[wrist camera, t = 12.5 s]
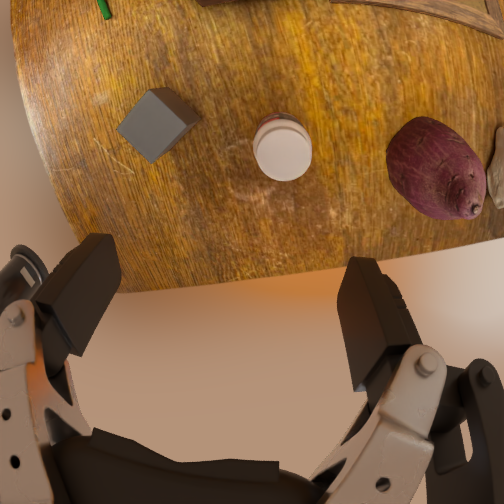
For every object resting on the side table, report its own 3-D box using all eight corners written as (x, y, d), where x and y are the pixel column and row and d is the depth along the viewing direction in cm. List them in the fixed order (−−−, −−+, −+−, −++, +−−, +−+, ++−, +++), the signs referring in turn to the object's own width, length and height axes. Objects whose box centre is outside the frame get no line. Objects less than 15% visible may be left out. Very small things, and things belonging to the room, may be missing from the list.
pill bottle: (271, 102, 24) (272, 110, 17) (312, 127, 25) (329, 146, 18) (247, 141, 26) (238, 165, 19) (287, 164, 27) (293, 196, 20)
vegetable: (369, 174, 30) (374, 246, 19) (402, 99, 23) (441, 123, 12) (437, 211, 29) (468, 294, 18) (474, 144, 22) (536, 202, 11)
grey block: (169, 150, 27) (151, 164, 23) (138, 120, 25) (115, 129, 21) (201, 118, 25) (187, 126, 21) (168, 86, 23) (148, 88, 19)
